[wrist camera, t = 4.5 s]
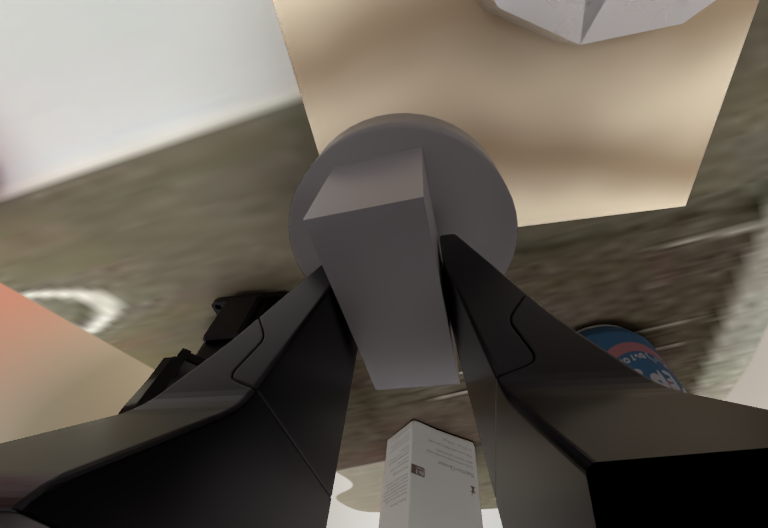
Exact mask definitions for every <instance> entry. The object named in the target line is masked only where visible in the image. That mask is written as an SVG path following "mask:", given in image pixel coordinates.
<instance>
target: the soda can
mask: <svg viewBox="0 0 768 528" xmlns="http://www.w3.org/2000/svg"><path fill="white" fill-rule="evenodd" d="M577 332H578V333H580V334H581V335H583V336H584V337H586V338H587V339H589V340H590V341H592V342H593V343H595V344H596V345H598V346H599V347H601V348H602V349H604V350H605V351H607V352H608V353H610V354H611V355H613V356H614V357H616V358H617V359H619V360H620V361H622V362H623V363H625V364H627V365H628V366H630V367H631V368H633V369H634V370H636V371H637V372H639V373H641V374H642V375H644V376H645V377H647V378H649V379H651V380H653V381H655V382H657V383H659V384H661V385H664V386H666V387H669V388H671V389H674V390H678V391H681V392H684V393H687V392H686V391H685V389H684V388H683V386H682V385H681V384H680V382H679V381H678V380H677V378H676V377H675V376H674V374H673V373H672V371H671V370H670V369H669V367H668V366H667V365H666V363H665V362H664V361H663V359H662V358H661V356H660V355H659V354H658V352H657V351H656V350H655V348H654V347H653V346H652V344H651V343H650V342H649V341H648V340H647V339H646V338H644V337H643V336H641V335H639V334H637V333H635V332H632V331H630V330H627V329H625V328H622V327H620V326H616V325H606V324H604V325H594V326H590V327H586V328H583V329H580V330H578V331H577Z"/></svg>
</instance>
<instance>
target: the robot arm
mask: <svg viewBox="0 0 768 528" xmlns="http://www.w3.org/2000/svg"><path fill="white" fill-rule="evenodd" d="M440 246H441V255H442V264H443V273H444V282H445V291H446V300H447V307H448V313H449V319H450V324H451V328H452V332H453V335H454V339H455V343H456V347H457V351H458V355H459V359H460V363H461V366H462V370H463V374H464V378H465V382H466V386H467V390H468V394H469V397H470V401H471V405H472V409H473V413H474V417H475V421H476V425H477V428H478V432H479V436H480V440H481V444H482V448H483V452H484V455H485V459H486V463H487V467H488V471H489V475H490V479H491V483H492V486H493V490H494V494H495V497H496V502H497V506H498V510H499V514H500V518H501V521H502V525H503V528H768V410H766V409H761V408H756V407H752V406H747V405H742V404H737V403H732V402H727V401H722V400H717V399H713V398H708V397H703V396H698V395H693V394H689V393H684V392H681V391H678V390H674V389H671V388H669V387H666V386H664V385H661V384H659V383H657V382H655V381H653V380H651V379H649V378H647V377H645V376H644V375H642V374H641V373H639V372H637V371H636V370H634V369H633V368H631V367H630V366H628V365H627V364H625V363H623V362H622V361H620V360H619V359H617V358H616V357H614V356H613V355H611V354H610V353H608V352H607V351H605V350H604V349H602V348H601V347H599V346H598V345H596V344H595V343H593V342H592V341H590V340H589V339H587V338H586V337H584V336H583V335H581V334H580V333H578V332H577V331H575V330H574V329H572V328H571V327H569V326H568V325H567V324H565V323H564V322H562V321H561V320H559V319H558V318H557V317H555V316H554V315H553V314H551V313H550V312H549V311H548V310H546V309H545V308H544V307H542V306H541V305H540V304H539V303H537V302H536V301H535V300H534V299H533V298H531V297H530V296H529V295H527V294H526V293H525V292H524V291H523V290H522V289H520V288H519V287H518V286H517V285H516V284H515V283H513V282H512V281H511V280H510V279H509V278H507V277H506V276H505V275H504V274H503V273H501V272H500V271H499V270H498V269H497V268H495V267H494V266H493V265H492V264H491V263H489V262H488V261H487V260H486V259H485V258H483V257H482V256H481V255H480V254H479V253H477V252H476V251H475V250H474V249H473V248H472V247H470V246H469V245H468V244H467V243H466V242H464V241H463V240H462V239H461V238H460V237H458V236H457V235H456V234H447V235H441V236H440ZM212 308H213V309H214V311H215V312H216V314H217V317H216V318H215V320H214V321H213V323H212V324H211V326H210V327H209V329H208V330H207V332H206V333H205V335H204V337H203V341H204V343H203V345H202V346H201V348H200V350H199V351H198V353H197V354H196V355H194V354H192V353H191V351H189V350H187V349H185V348H183V349H182V350H181V351H180V353H179V354H178V355H177V357H175V356H174V357H170V358H164V359H163V360H162V361H161V363H160V364H159V365H158V367H157V368H156V369H155V371H154V372H153V373H152V375H151V376H150V377H149V379H148V380H147V381H146V382H145V383H144V385H143V386H142V387H141V388H140V389H139V390H138V391H137V392H136V393H135V395H134V396H133V397H132V398H131V399H130V400H129V401H128V402H127V403H126V405H125V406H124V407H123V408H122V409H121V411H120V412H119V414H118V415H115V416H111V417H107V418H103V419H99V420H95V421H91V422H87V423H82V424H79V425H74V426H71V427H66V428H62V429H58V430H54V431H50V432H46V433H42V434H38V435H34V436H30V437H25V438H22V439H17V440H13V441H9V442H5V443H1V444H0V528H326V525H327V519H328V514H329V508H330V501H331V498H330V497H331V495H332V490H333V484H334V479H335V473H336V468H337V462H338V456H339V451H340V445H341V440H342V434H343V428H344V423H345V417H346V411H347V406H348V400H349V395H350V389H351V383H352V378H353V372H354V366H355V361H356V355H357V350H358V347H357V345H356V342H355V340H354V338H353V335H352V333H351V331H350V329H349V326H348V324H347V322H346V319H345V317H344V315H343V312H342V310H341V308H340V305H339V303H338V301H337V298H336V296H335V294H334V291H333V289H332V287H331V285H330V282H329V280H328V278H327V275H326V273H325V271H324V268H323V266H322V265H321V266H319V267H318V268H317V269H316V270H315V271H314V272H312V273H311V274H310V275H309V276H308V277H307V278H305V279H304V280H303V281H302V282H301V283H299V284H298V285H297V286H296V287H295V288H294V289H292V290H291V291H290V292H289V293H286V292H279V293H269V294H260V295H250V296H241V297H231V298H222V299H216V300H215V301H214V302H213V304H212Z"/></svg>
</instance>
